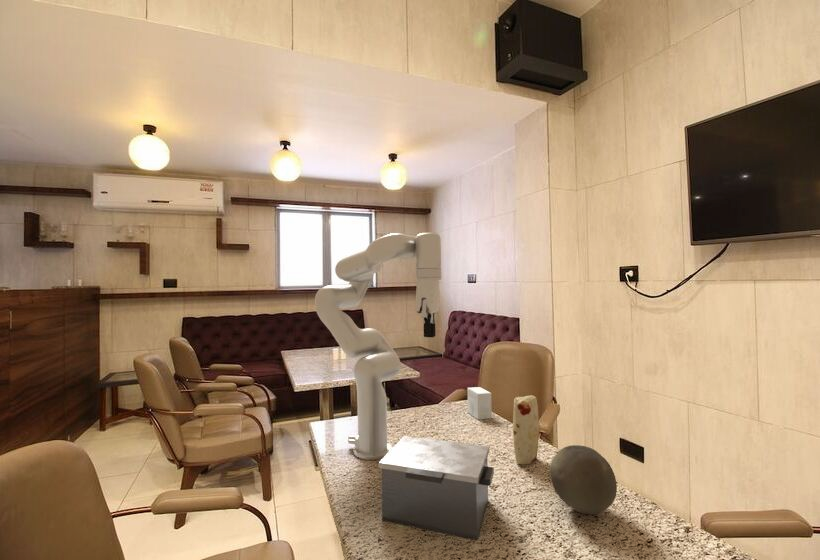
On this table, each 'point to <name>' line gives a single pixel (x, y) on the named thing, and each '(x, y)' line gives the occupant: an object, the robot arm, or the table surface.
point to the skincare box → (479, 403)
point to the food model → (525, 429)
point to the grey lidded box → (436, 503)
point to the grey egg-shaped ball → (583, 479)
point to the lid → (436, 460)
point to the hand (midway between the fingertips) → (429, 336)
